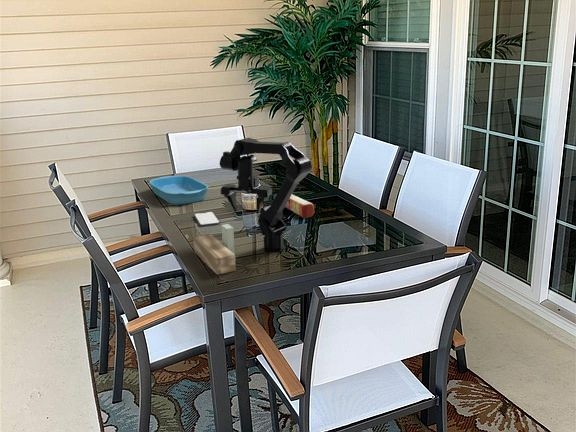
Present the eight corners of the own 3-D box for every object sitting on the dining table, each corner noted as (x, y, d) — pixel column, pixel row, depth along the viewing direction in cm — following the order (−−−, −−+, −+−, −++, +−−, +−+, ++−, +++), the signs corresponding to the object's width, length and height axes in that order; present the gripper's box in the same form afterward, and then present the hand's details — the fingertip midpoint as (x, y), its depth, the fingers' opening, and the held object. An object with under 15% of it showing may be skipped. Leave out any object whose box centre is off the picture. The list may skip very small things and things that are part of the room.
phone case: (221, 226, 244) (212, 214, 258) (220, 222, 243) (212, 211, 257) (200, 228, 241) (193, 217, 255) (200, 225, 240) (193, 213, 255)
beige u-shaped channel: (211, 248, 217) (210, 234, 215) (235, 270, 196) (234, 254, 194) (194, 251, 214) (193, 237, 212) (217, 274, 193) (216, 258, 192)
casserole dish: (216, 201, 277) (215, 187, 275) (172, 210, 266) (171, 195, 263) (185, 186, 307) (184, 173, 304) (144, 192, 295) (143, 179, 293)
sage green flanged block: (229, 254, 210) (227, 223, 207) (235, 260, 205) (233, 228, 202) (208, 258, 207) (206, 227, 203) (214, 264, 202) (212, 232, 198)
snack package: (280, 207, 267) (280, 193, 265) (293, 205, 269) (293, 191, 267) (301, 219, 248) (301, 204, 246) (315, 217, 251) (315, 202, 249)
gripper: (276, 168, 218) (277, 208, 223) (230, 166, 224) (232, 204, 229) (266, 175, 208) (267, 216, 213) (218, 172, 214) (221, 213, 219)
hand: (247, 212), depth 219 cm, fingers open, 9 cm apart
